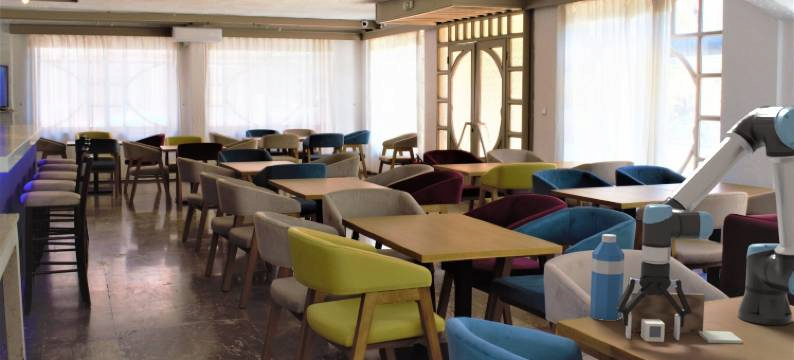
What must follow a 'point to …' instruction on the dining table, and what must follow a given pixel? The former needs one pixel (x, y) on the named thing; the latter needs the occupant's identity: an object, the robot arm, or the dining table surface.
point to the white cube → (652, 330)
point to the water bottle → (607, 279)
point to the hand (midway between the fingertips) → (652, 338)
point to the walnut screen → (669, 312)
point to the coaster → (719, 337)
